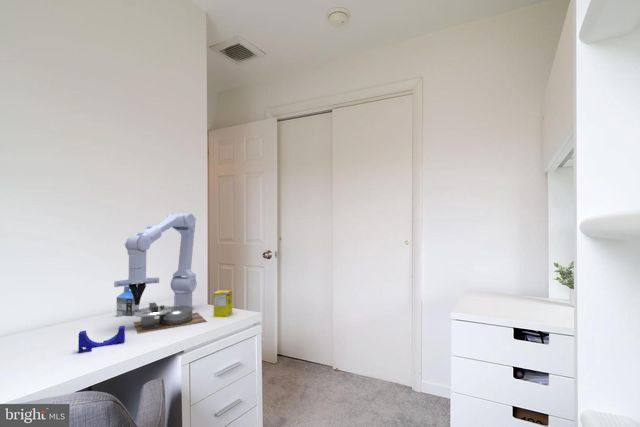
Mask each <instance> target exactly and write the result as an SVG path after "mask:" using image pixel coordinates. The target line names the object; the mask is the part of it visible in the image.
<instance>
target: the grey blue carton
mask: <svg viewBox="0 0 640 427" xmlns="http://www.w3.org/2000/svg"><path fill="white" fill-rule="evenodd" d="M123 288H124V289H123V292H122V293H121V294H119V295H118V296H116V317H118V318H120V317H133V316H135V311H137V310H139V308H140V304H139V305H135V302H134V297H133V294H132V292H131V290H130V288H129V286H123Z"/></svg>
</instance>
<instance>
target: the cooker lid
mask: <svg viewBox="0 0 640 427" xmlns="http://www.w3.org/2000/svg"><path fill="white" fill-rule="evenodd" d="M148 304H149V305H148V306H147V307H143V308H140V309H139V310H137V311H135V315H134V316H135V317H139V318H141V317H153V316H154V317H159V316H160V315H164V314H167V313H170V312H171V311H172V308H171V307H172V306H168V305H167V306H166V305H158V304H157V303H156V302H149V303H148Z"/></svg>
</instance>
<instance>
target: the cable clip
mask: <svg viewBox="0 0 640 427" xmlns="http://www.w3.org/2000/svg"><path fill="white" fill-rule="evenodd" d="M125 328H126V326H125V325H119V327H118V332H117V333H116V334H115V335H114V336H112V337H110V338H109V339H106V340H103V341H102V342H99V341H98V342H96V341H94V340H92V339H90V337H89V336H88V333H87V330H81V331H79V332H78V344H77V345H78V346H77V348H78V349H77V350H78V352H77V353H78V354H82V353H88V352H89V353H90V352H92V351H93V349H95V348H96V349H97V348H100V347H101V348H102V347H107V346H114V345H118V343H121V344H125V340H126V334H125V331H126V329H125Z"/></svg>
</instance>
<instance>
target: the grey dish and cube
mask: <svg viewBox="0 0 640 427" xmlns="http://www.w3.org/2000/svg"><path fill="white" fill-rule="evenodd" d="M170 307H171V308H172V311H171V312H170V313H167V314H164V315H160V316H158V319H159V324H160V325H163V326H176V325H182V324H186V323H189V322H191V321H192V313H193V306H192V307H190V306H174V305H173V306H170ZM154 319H155V316H153V317H140V321H141V327H142V328H148V327H154Z"/></svg>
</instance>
